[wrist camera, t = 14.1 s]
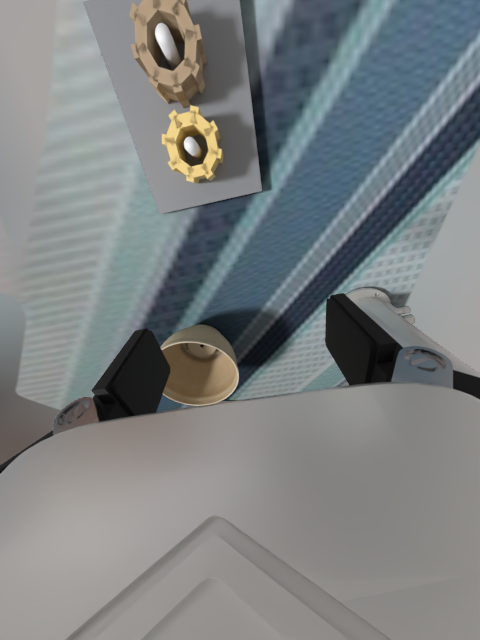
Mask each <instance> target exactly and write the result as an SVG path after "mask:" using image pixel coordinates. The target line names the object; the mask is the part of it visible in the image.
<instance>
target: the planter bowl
mask: <svg viewBox="0 0 480 640" xmlns="http://www.w3.org/2000/svg"><path fill="white" fill-rule="evenodd" d="M201 344H203V347H201V346H200V345H201ZM160 348H161V350H162V352H163V354H164V356H165V358H166V360H167V362H168V364H169V365H170V370H171V371H170V375H169V377H168V380H167V383H166V386H165V388H164V391H163V395H165V396H166V397H168V398H170V399H172V400H174V401H176V402H179V403H183V404H187V405H195V406H200V405H209V404H214V403H217V402H220V401H222V400H224V399H226V398H227V397H228V396H229V395H231V394H232V393H233V391H234V390H235V388H236V387H237V384H238V381H239V371H238V367H237V361H236V356H235V353H234V351H233V349H232V347H231V345H230V343H229V342H228V341H227V339H226V338H225V337H224V336H223V335H221V334H220V332H219V331H218V330H216V329H215V328H213V327H211V326H208V325H194V326H191V327H189V328H185V329H183V330H180V331H178V332H176V333H175V334H173V335H172V336H171V337H169V338H168V339H167V340H166V341H165V342H164V344H163V345H162V346H161V347H160Z"/></svg>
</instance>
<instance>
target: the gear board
mask: <svg viewBox="0 0 480 640" xmlns="http://www.w3.org/2000/svg"><path fill="white" fill-rule="evenodd" d="M142 1H143V0H90V1H87V2H84V6H85V9H86V11H87V14H88V17H89V20H90V23H91V25H92V28H93V31H94V34H95V36H96V39H97V42H98V45H99V48H100V50H101V53H102V56H103V59H104V62H105V64H106V67H107V70H108V73H109V76H110V78H111V81H112V84H113V87H114V89H115V92H116V95H117V98H118V101H119V103H120V106H121V109H122V112H123V115H124V117H125V120H126V123H127V126H128V128H129V131H130V134H131V137H132V140H133V142H134V145H135V148H136V151H137V154H138V156H139V159H140V162H141V165H142V167H143V170H144V173H145V176H146V179H147V181H148V184H149V187H150V190H151V193H152V195H153V198H154V201H155V204H156V206H157V209H158V212H159V214H164V213H168V212H172V211H177V210H181V209H185V208H190V207H194V206H199V205H203V204H207V203H212V202H216V201H220V200H225V199H229V198H234V197H238V196H242V195H247V194H251V193H255V192H260V191H262V186H261V178H260V169H259V161H258V152H257V144H256V135H255V127H254V118H253V110H252V101H251V92H250V84H249V75H248V67H247V58H246V50H245V41H244V33H243V24H242V16H241V7H240V0H187V3H188V7H189V11H190V15H191V19H192V23H193V25H197V24H199V27H200V31H201V36H202V41H203V46H204V50H205V55H206V61H207V64H205V65H203V71H202V76H203V79H204V83H205V88H204V91H203V93H202V95H201V94H200V93H199V92H197V93H196V94H195V95H194V96H193V97H192V98H191V99H190V100H189V103H190V105H192V106H195V107H199V109H200V112H201V114H202V116H203V118H204V119H205V120H206V121H207V122H209V123H211V122H212V121H214V123H215V125H216V126H217V128H218V131H219V135H220V139H219V140H218V141H217V142H218V147H219V149H222V152H223V155H224V156H223V163H219V164H218V166H217V168H216V170H215V172H214V174H215V176H216V177H215V178H214V179H212V180H211V181H210V180H209V179H207V178H204V179H200V180H199V184H198V183H194V182H190V181H186V175H185V174H184V173H178V172H176V171H173V170H172V169H171V167H170V166H169V164H168V162H169V161H170V160H171V159H170V156H169V153H168V149H167V147H166V146H164V145H163V144H162V134H165V135H166V134H167V132H168V129H169V126H170V123H171V119H170V117H169V116H168V115H169V114H170V113H171V112H172V111H173V110H174V109H175V111H176V112H177V114H182V113H185V112H189V111H190V107H186V108H183V107H182V105H181V103H180V102H178V101H174V100H171V99H170V101H169V104H168V103H167V102H166V101H164V100H163V99H162V98H161V97H160V95H159V94H158V93H157V91H156V90H155V89H154V88H153V86H152V85H151V84H150V82H149V77H148V76H147V75H146V73H145V72H144V70H143V69H142V68H141V66H140V65H139V64H138V62H137V61H136V60H135V58H134V55H133V51H132V48H131V45H132V44H135V24H134V23H133V21H132V19H131V18H130V16H129V14H130V10H131V6H132V2H133V3H134V4H135V5H136V6H137V7H138V6H139V5H140V4H141V2H142ZM155 36H156V39H157V41H158V43H159V45H160V47H161V49H162V51H161V68H164V69H168V70H171V71H174V70H175V69H176V68H177V67H178V65H179V64H180V63H181V62H182V61H183V60H184V55H185V45H184V44H181V43H177V42H174V41H173V38H172V36H171V33H170V31H169V29H168V27H167V26H166V25H165V24H164V23H159V24H158V25H157V26H156V29H155ZM183 150H184V153H185V157H186V161H187V163H188V164H189V165H190V166H196V165H200V164H203V162H204V160H205V158H206V155H207V153H208V151H209V150H208V146H207V141H206V140H205V139H204V138H203V137H202V136H201V135H195V136H191V137H187V138H186V139H185V141H184V149H183Z"/></svg>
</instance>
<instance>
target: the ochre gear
mask: <svg viewBox="0 0 480 640" xmlns="http://www.w3.org/2000/svg"><path fill="white" fill-rule="evenodd" d="M168 116H169V117H170V119H171V123H170V126H169V129H168V132H167V134H166V135H165V134H162V144H163V145H164V146H166V147H167V149H168V153H169V156H170V159H171V160H170V161H169V162H168V164H169V166H170V167H171V169H172V170H173V171H176V172H178V173H184V174H185V175H186V181H190V182H194V183H198V184H199V180H200V179H204V178H207V179H209V180H210V181H211V180H212V179H214V178H215V177H216V176H215V174H214V172H215V170H216V168H217V166H218V164H219V163H223V156H224V155H223V152H222V149H219V147H218V142H217V141H218V140H219V139H220V135H219V131H218V128H217V126H216V125H215V123H214V121H212V122H211V123H209V122H207V121H206V120H205V119H204V118H203V116H202V114H201V112H200V109H199V107H195V106H192V105H190V111H189V112H185V113H182V114H177V112H176V111H175V109H174V110H173V111H172V112H171V113H170V114H169V115H168ZM195 135H201V136H202V137H203V138H204V139H205V140H206V141H207V146H208V150H209V151H208V153H207V155H206V158H205V160H204V162H203V164H200V165H196V166H190V165H189V164H188V163H187V161H186V157H185V153H184V150H183V149H184V141H185V139H186V138H187V137H191V136H195Z"/></svg>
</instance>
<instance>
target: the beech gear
mask: <svg viewBox="0 0 480 640" xmlns="http://www.w3.org/2000/svg"><path fill="white" fill-rule="evenodd" d="M129 16H130V18H131V19H132V21H133V23H134V24H135V44H132V45H131V48H132V51H133V55H134V58H135V60H136V61H137V62H138V64H139V65H140V66H141V68H142V69H143V70H144V72H145V73H146V75H147V76H148V77H149V82H150V84H151V85H152V86H153V88H154V89H155V90H156V91H157V93H158V94H159V95H160V97H161V98H162V99H163V100H164V101H166V102H167V103H168V104H169V101H170V99H171V100H174V101H178V102H180V103H181V105H182V107H183V108H186V107H190V103H189V100H190V99H191V98H192V97H193V96H194V95H195V94H196V93H197V92H199V93H200V94H201V95H202V93H203V91H204V88H205V83H204V79H203V76H202V71H203V65H205V64H207V61H206V55H205V50H204V46H203V41H202V36H201V31H200V27H199V24H197V25H193V23H192V19H191V15H190V11H189V7H188V3H187V0H143V1H142V2H141V4H140V5H139V6H138V7H137V6H136V5H135V4H134V3H133V2H132V6H131V10H130V14H129ZM159 23H164V24H165V25H166V26H167V27H168V29H169V31H170V33H171V36H172V38H173V41H174V42H177V43H181V44H184V45H185V55H184V60H183V61H182V62H181V63H180V64H179V65H178V67H177V68H176V69H175V70H174V71H171V70H168V69H164V68H161V51H162V49H161V47H160V45H159V43H158V41H157V39H156V36H155V29H156V26H157V25H158V24H159Z"/></svg>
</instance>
